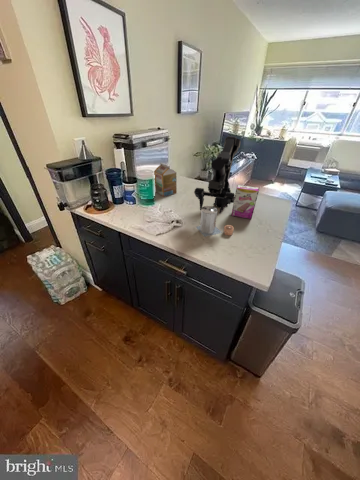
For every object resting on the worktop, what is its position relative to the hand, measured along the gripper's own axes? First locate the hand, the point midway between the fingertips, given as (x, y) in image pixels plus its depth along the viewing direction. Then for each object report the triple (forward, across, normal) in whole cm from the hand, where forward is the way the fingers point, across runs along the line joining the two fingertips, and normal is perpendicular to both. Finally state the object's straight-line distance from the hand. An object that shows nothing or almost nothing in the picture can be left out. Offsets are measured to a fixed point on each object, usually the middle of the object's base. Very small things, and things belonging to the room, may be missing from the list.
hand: (209, 211), depth 93 cm
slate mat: (+7, 0, +6) cm, 10 cm away
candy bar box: (-8, +14, +22) cm, 27 cm away
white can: (+8, 0, +5) cm, 9 cm away
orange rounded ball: (+7, +10, +7) cm, 14 cm away
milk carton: (-18, -39, +32) cm, 54 cm away
